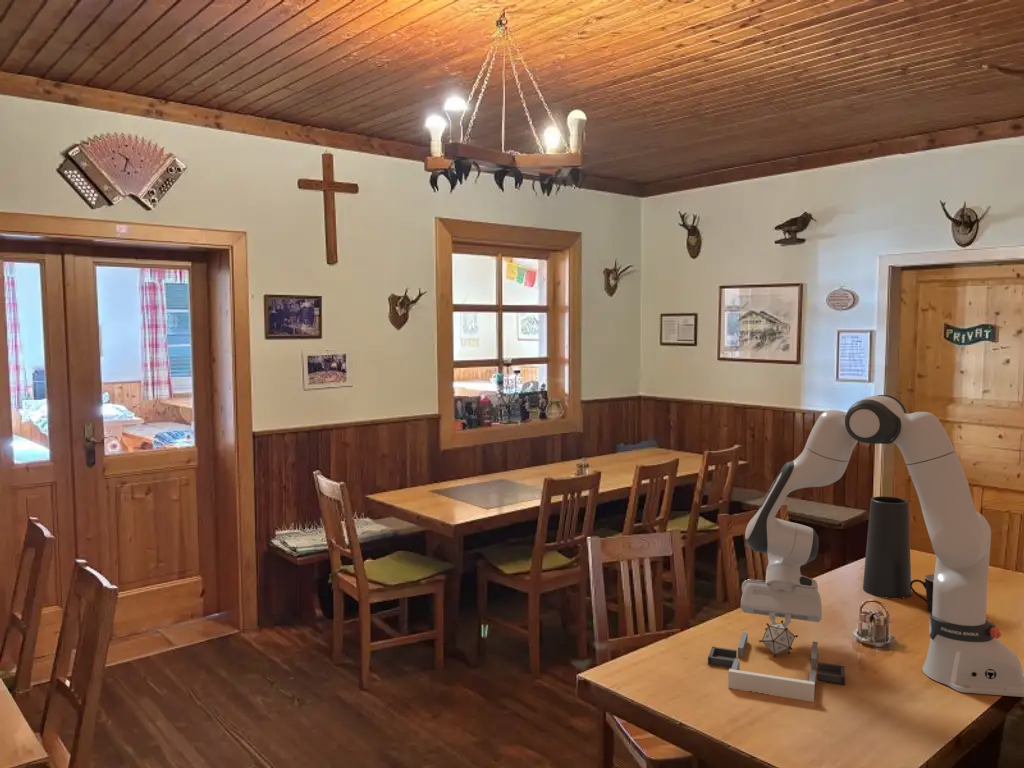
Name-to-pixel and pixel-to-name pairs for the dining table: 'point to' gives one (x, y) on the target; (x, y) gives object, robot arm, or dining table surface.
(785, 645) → the game die
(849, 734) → the dining table surface
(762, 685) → the trap lane
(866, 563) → the vase
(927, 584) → the coffee mug
